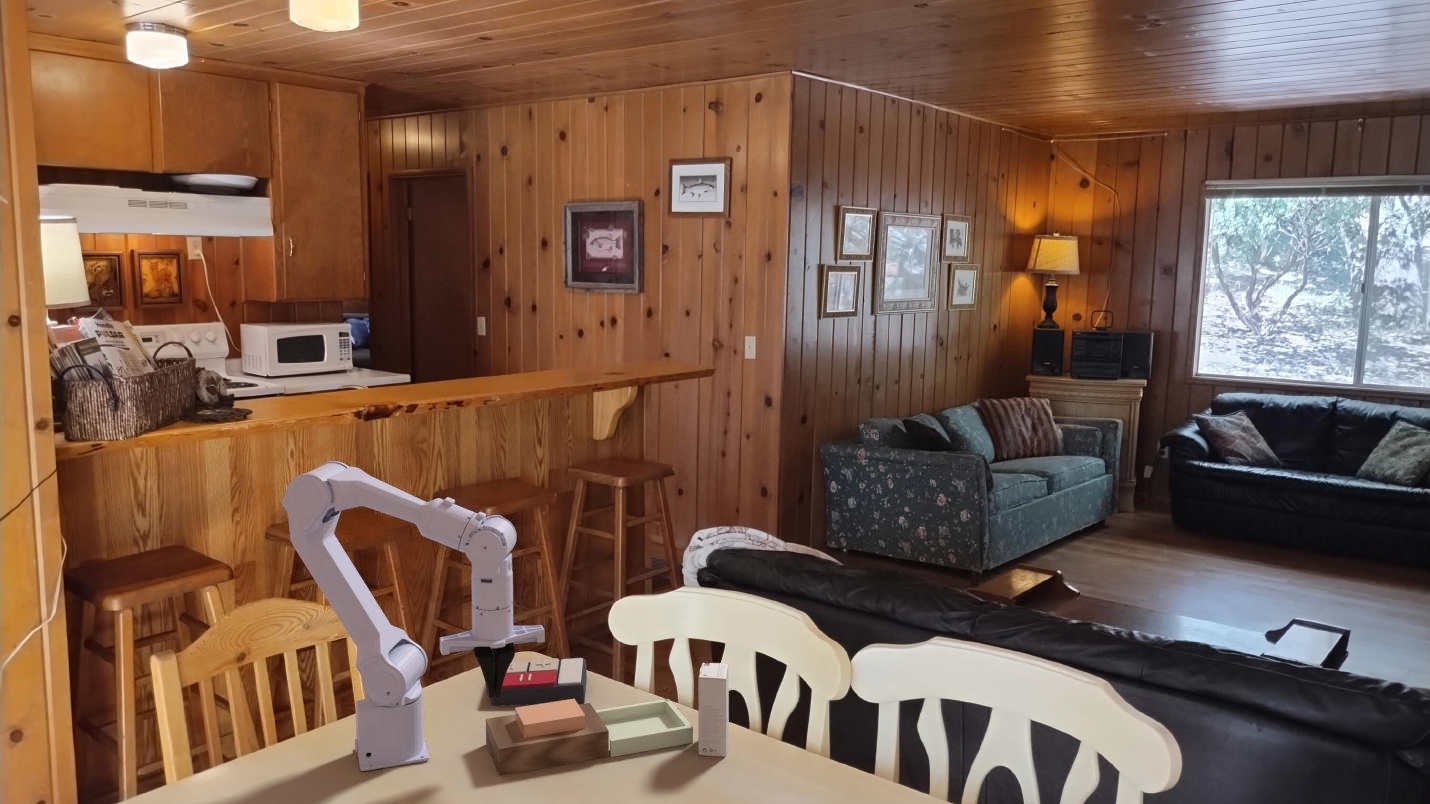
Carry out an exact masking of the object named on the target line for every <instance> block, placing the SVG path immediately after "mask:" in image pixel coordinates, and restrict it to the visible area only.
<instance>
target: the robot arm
mask: <svg viewBox="0 0 1430 804" xmlns="http://www.w3.org/2000/svg"><path fill="white" fill-rule="evenodd" d="M455 503H456V500H455V499H453V498H451V497H449V496H448V497H446V498H444V499H443V498H441V497H440V498H439V497H438V498H435V499H432V500H430V501H425V500H423V499H421V498H419V497H416V496H415V495H412V494H410V493H408V492H405V491H404V490H401V489H399V488H397V487H395V486H393V485H391V484H388V483H386V482H384V481H382V480H380V479H378V478H377V477H373V476H372V475H370V474H368V473H367V472H365V471H364V470H362V469H361V468H359V467H356V466H348V464H346V463H344V462H342V461H338V460H337V461H336V460H330V461H326V462H325V463H323V464H321V465H320V466H318V467H316V468H314V469H311V470H310V471H307V472H305V473H301V474H298V475H296V476H295V477H294V478H292V479H291V481H290V482H289V483H288V485H287V488H286V490H285V493H284V496H283V499H282V502H281V505H282V506H283V508H284V509H285V511H286V513H287V519H288V520H287V521H288V528H289V537H290V542H291V544H292V546H293V548H294V549H295V551H296V552H297V554H298V556H299V558H300V559H301V560H302V561H301V562H303V564H304V565H305V567H306V569H307V570H308V571H309V573H310V575H311V576H312V579H314V581H315V582H316V584H317V585H318V587H319V589H320V591H321V592H322V593H323V595H324V597H325V598H326V600H327V601H328V603H329V605H330V607H331V608H332V610H333V611H334V613H335V614H336V616H337V617H338V619H339V620H340V622H341V624H342V625H343V627H344V629H345V631H346V632H347V634H348V635H349V637H350V638H351V640H352V642H353V643H354V644H355V646H356V660H355V662H356V663H355V666H356V667H355V668H356V669H357V671H358V673H359V674H360V676H361V680H362V681H361V682H362V689H363V691H364V693H365V696H366V697H364V698H362V699H359V700H356V701H355V731H356V735H355V736H356V738H355V739H354V748H355V752H356V753H357V757H358V764H359V770H360V772H361V771H362V772H365V771H366V772H367V771H372V770H377V769H383V768H390V767H396V766H402V765H403V766H404V765H408V764H414V763H419V762H427V761H429V760H430V754H429V750H428V748H427V744H426V740H425V737H424V722H423V721H424V717H423V716H424V715H423V712H424V711H423V706H424V705H423V687H422V685H421V677H422V676H424V674H425V673H426V670H427V667H428V656H427V653H426V652H425V650H424V648H422V646H421V645H419V644H418V643H416V642H415V641H413V640H412V639H411V638H410V637H409V636H408V634H407V633H406V631H405V630H404V629H402V628H399V627H397V626H394V625H393V624H391V623H390V621H389V619H388V618H387V616H386V614H385V613H384V612H383V610H382V609H381V607H380V605H379V604H378V602H377V600H376V599H375V597H374V595H373V594H372V592H371V591H370V589H369V587H368V586H367V584H366V583H365V581H364V580H363V578H362V576H361V575H360V574H359V572H358V570H357V568H356V566H355V565H354V564H353V562H352V560H351V559H350V557H349V555H348V554H347V553H346V551H345V549H344V548H343V546H342V545H341V543H340V541H339V539H338V537H336V535H335V532H336V528H337V524H338V521H339V518H340V515H341V513H342V511H345V510H350V509H353V508H358V507H365V508H369V509H372V510H374V511H378V512H380V513H383V514H386V515H388V516H391V517H395V518H397V519H400V520H403V521H406V522H409V523H412V524H414V525H416V527H417V529H418V531H419V533H420V534H421V536H422V537H425V539H429V540H432V541H433V542H437V543H439V544H441V545H444V546H447V547H449V548H451V549H454V550H456V551H459V552H461V553H465V555H466V557H467V559H468V560H469V562H471V628H472V629H471V630H466V631H464V632H460V633H455V634H451V635H447V636H441V637H439V650H440V653H441V655H442V656H445V655H450V654H451V653H457V652H462V651H463V652H465V651H471V650H472V652H473V654H474V657H475V658H476V660H477V663H478V664H479V667H480V669H481V672H482V673H481V674H482V676H483V679H484V683H485V688H486V694H487V696H488V698H489V699H491V698H493V697H494V694H495V697H500V696H501V689H502V685H503V681H504V678H505V675H506V672H507V670H508V668H509V666H510V664H511V662H512V661H514V659H515V655H516V649H515V648H514V645H516V644H517V645H518V644H525V643H532V642H536V643H539V644H540V643H541V644H542V643H545V641H546V639H545V637H546V636H545V634H546V633H545V628H544V627H543V625H542V624H538V625H514V584H513V583H514V580H513V579H514V578H513V577H514V575H513V574H514V572H513V554H512V553H511V551H512V550H513V548H514V547H515V545H516V542H517V538H518V535H517V530H516V528H515V526H514V525H513V523H512V522H511V521H510V520H508V519H507V518H505V517H503V516H502V515H499V514H494V515H490V516H489V515H488V516H487V514H486V513H485V512H482V511H478V513H477V512H474V511H472V510H470V509H468V508H465V507H462V506H460V505H458V504H455ZM486 516H487V517H486Z"/></svg>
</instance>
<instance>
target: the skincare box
mask: <svg viewBox="0 0 1430 804" xmlns="http://www.w3.org/2000/svg"><path fill="white" fill-rule="evenodd" d="M697 679H698V680H697V681H698V684H697V686H698V688H697V689H698V692H697V693H698V694H697V695H698V699H697V700H698V754H699V755H700V756H704V757H705V756H706V757H726V756H727V754H728V749H729V745H730V744H729V743H730V742H729V740H730V737H729V735H730V730H729V729H730V728H729V725H730V724H729V723H730V721H729V719H730V717H729V716H730V715H729V713H730V712H729V710H730V709H729V707H730V706H729V704H730V703H729V699H730V697H729V694H730V693H729V691H730V689H729V664H728V663H723V662H721V663H719V662H702V663H701V666H700V669H699V674H698V678H697Z"/></svg>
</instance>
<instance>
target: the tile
mask: <svg viewBox="0 0 1430 804" xmlns="http://www.w3.org/2000/svg"><path fill="white" fill-rule="evenodd" d="M514 714H515V721H516V723H517V725H518V727H519V729H520V731H521V733H522V735H523V737H524V738H528V737H534V736H540V735H546V734H552V733H559V732H565V731H571V730H577V729H583V728H585V714H584V713H583V711H582V710H581V708H580V707H579V704H578V703H577V702H576V700H575V699H569V700H563V701H556V702H549V703H543V704H536V705H522V706H517V707H515V708H514Z"/></svg>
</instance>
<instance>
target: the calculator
mask: <svg viewBox="0 0 1430 804" xmlns="http://www.w3.org/2000/svg"><path fill="white" fill-rule="evenodd" d="M587 681H588V676H587V660H586V658H584V657H583V658H582V657H575V658H563V659H559V658H543V659H532V660H530V661H529V660H527V659H526V660H512V662H511V664H510V666H509V668H508V670H507V672H506V675H505V678H504V681H503V685H502V689H501V696H500V697H495V694H494V697H493V698H490V705H491V706H493V707H496V706H497V707H501V706H502V705H513V706H530V705H536V704H543V703H549V702H556V701H563V700H569V699H575V700H576V702H577V703H578V705H579V704H586V703H585V702H586V693H587ZM502 707H503V706H502Z"/></svg>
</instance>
